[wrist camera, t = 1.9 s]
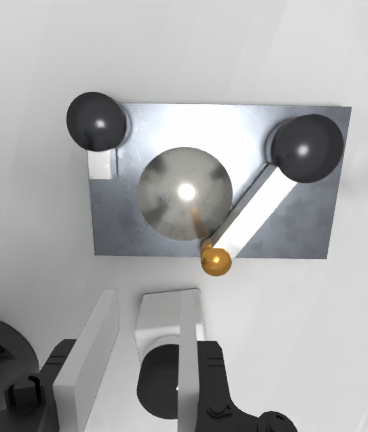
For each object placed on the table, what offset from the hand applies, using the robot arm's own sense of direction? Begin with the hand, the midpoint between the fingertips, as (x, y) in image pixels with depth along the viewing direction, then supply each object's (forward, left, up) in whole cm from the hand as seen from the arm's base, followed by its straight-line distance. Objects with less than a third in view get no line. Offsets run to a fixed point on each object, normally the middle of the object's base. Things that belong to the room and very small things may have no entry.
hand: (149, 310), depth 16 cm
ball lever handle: (+10, +4, -14) cm, 18 cm away
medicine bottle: (+1, -12, -17) cm, 21 cm away
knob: (-6, +10, -15) cm, 19 cm away
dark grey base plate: (+5, +5, -17) cm, 18 cm away
